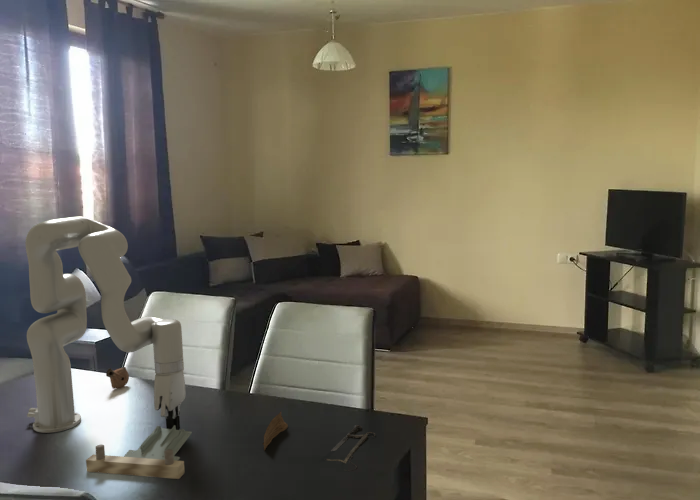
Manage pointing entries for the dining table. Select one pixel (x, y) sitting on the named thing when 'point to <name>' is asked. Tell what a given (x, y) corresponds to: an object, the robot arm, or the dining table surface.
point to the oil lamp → (118, 377)
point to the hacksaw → (363, 438)
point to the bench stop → (135, 465)
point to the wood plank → (274, 429)
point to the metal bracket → (160, 443)
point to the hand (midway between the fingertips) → (173, 430)
